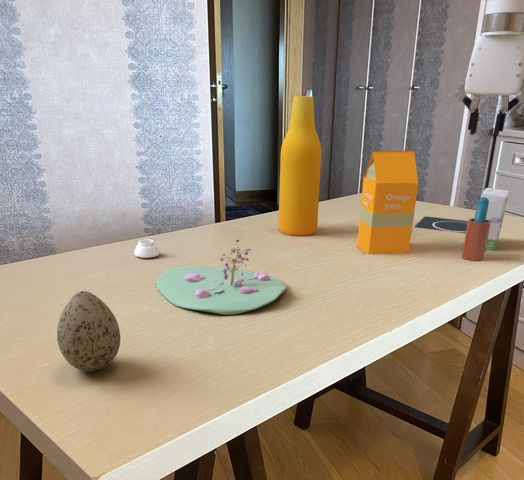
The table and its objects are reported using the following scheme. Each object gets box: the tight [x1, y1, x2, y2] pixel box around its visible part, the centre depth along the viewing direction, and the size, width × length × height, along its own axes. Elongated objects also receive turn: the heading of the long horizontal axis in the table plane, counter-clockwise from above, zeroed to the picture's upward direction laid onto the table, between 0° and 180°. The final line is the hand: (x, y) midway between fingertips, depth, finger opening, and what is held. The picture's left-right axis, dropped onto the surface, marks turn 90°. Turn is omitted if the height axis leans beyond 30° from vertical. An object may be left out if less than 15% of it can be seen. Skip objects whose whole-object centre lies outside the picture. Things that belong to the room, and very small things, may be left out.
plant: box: [155, 239, 288, 316], centre depth 88 cm, size 25×21×9 cm
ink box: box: [480, 187, 510, 252], centre depth 114 cm, size 8×5×12 cm, turn 154°
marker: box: [474, 197, 489, 223], centre depth 104 cm, size 2×2×12 cm
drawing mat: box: [414, 215, 468, 235], centre depth 131 cm, size 18×16×1 cm
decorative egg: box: [56, 290, 121, 372], centre depth 63 cm, size 7×7×10 cm
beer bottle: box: [277, 95, 323, 237], centre depth 119 cm, size 9×9×29 cm
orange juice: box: [356, 150, 419, 255], centre depth 108 cm, size 8×9×20 cm
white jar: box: [133, 238, 161, 259], centre depth 106 cm, size 5×3×5 cm
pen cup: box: [461, 217, 491, 262], centre depth 105 cm, size 4×4×8 cm
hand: (484, 133), depth 105 cm, fingers open, 3 cm apart
